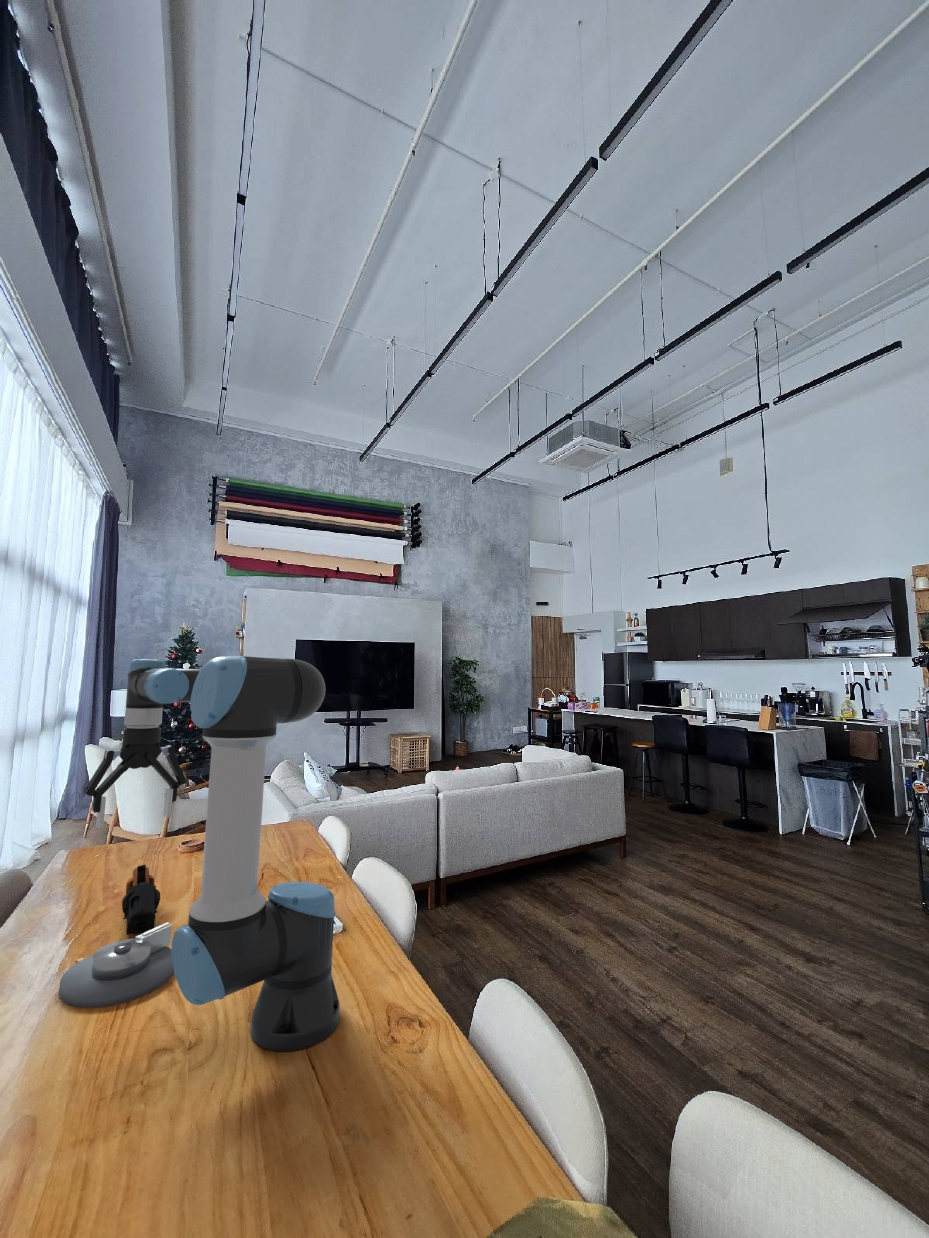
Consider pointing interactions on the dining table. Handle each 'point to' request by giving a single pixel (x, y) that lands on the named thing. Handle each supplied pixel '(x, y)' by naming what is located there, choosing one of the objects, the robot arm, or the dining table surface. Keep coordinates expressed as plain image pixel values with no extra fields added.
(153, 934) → the dial
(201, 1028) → the dining table surface
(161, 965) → the dial plate
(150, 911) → the tool
